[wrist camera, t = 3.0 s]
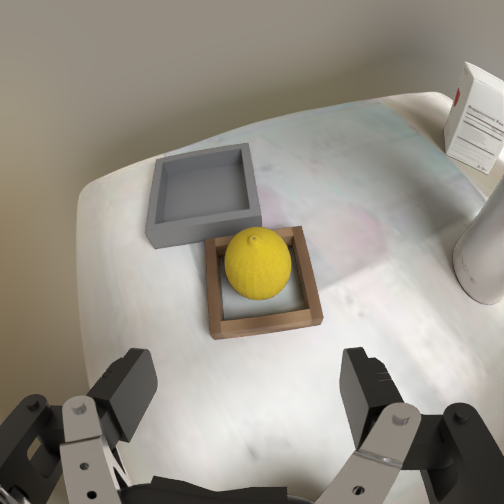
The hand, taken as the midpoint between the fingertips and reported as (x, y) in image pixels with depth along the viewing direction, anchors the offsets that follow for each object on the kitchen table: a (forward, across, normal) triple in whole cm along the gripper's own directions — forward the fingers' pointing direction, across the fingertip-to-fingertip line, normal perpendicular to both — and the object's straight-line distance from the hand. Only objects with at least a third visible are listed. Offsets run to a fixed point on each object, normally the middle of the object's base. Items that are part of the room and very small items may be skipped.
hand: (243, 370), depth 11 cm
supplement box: (+33, -36, -13) cm, 50 cm away
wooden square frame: (+17, 0, +2) cm, 17 cm away
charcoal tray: (+25, +6, -6) cm, 26 cm away
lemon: (+17, 0, +2) cm, 17 cm away
